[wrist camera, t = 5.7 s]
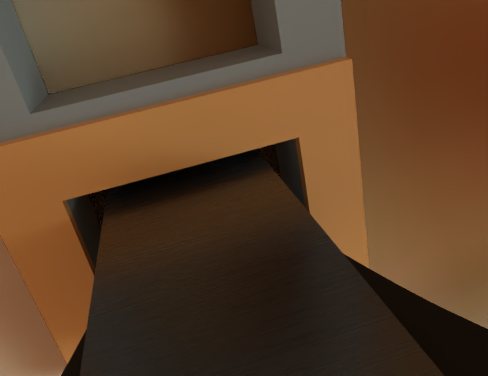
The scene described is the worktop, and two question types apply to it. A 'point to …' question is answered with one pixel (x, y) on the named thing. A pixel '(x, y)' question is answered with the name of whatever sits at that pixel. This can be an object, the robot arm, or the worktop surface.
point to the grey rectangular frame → (172, 142)
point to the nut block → (232, 285)
